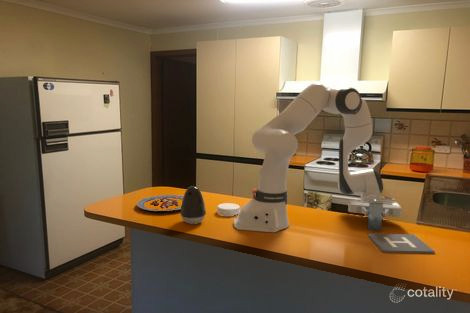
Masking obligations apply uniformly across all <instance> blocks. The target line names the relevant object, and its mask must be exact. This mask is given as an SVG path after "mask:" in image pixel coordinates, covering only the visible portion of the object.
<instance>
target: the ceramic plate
mask: <svg viewBox="0 0 470 313" xmlns="http://www.w3.org/2000/svg"><path fill="white" fill-rule="evenodd" d="M183 197H184V195H177V194H161V195H160V194H159V195H153V196H147V197H144V198H142V199H140V200H139V201H137V202H136V205H137V207H138V208H140V209H142V210H146V211H150V212H151V211H153V212H157V211H168V212H173V210H175V211H178V210H181V207H179V208H175V209H166V210H158V209H149V208H146V207H145V206H144V203H146V202H148V201H151V200H155V199H160V200H161V201H160V202H163V203H162V204H161V206H160V207H161V208H162V209H163V208H168V207H169V206H173V205H175V206H177V207H178V206H179V205H180V204H178V201H177V200H173V199H180V200H183ZM167 198H173V199H167ZM158 201H159V200H157V201H156V200H155V201H153V202H152V203H150V205H154V206H158V205H159V204H160V203H159V202H158Z"/></svg>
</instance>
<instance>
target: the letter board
mask: <svg viewBox="0 0 470 313" xmlns="http://www.w3.org/2000/svg"><path fill="white" fill-rule="evenodd" d="M367 237H368V238H369V239H370V240H371V241H372V243H374V244H375V246H376V247H377V248H378V249H379V250H380V251H381V253H383V254H385V253H386V254H433V255H434V254H435V253H436V251H435V250H434V249H433V248H431V247H430V246H429V245H427V244H426V243H425V242H424V241H423V240H421V239H420V238H419V237H418V236H416V235H415V234H411V233H410V234H405V233H404V234H403V233H401V234H400V233H399V234H398V233H395V234H394V233H368V234H367Z"/></svg>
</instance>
